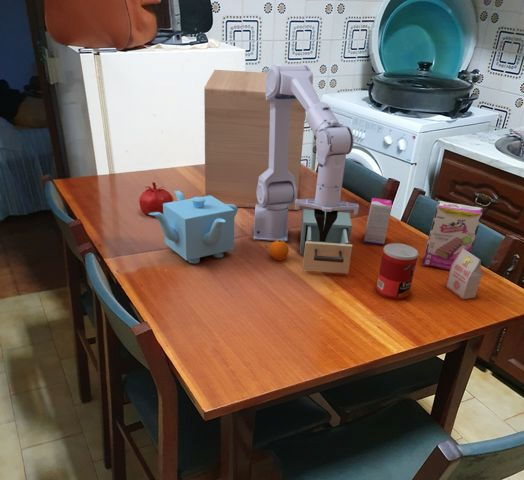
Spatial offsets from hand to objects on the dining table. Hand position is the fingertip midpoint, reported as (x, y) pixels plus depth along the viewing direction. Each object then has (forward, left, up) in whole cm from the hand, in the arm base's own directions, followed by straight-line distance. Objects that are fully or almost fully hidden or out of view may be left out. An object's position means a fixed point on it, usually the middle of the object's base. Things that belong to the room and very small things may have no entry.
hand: (322, 240), depth 131 cm
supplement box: (+17, +26, -10) cm, 32 cm away
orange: (-10, +9, -7) cm, 15 cm away
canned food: (+18, -5, -10) cm, 21 cm away
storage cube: (-21, +62, -10) cm, 66 cm away
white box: (+35, -2, -10) cm, 36 cm away
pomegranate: (-48, +35, -10) cm, 60 cm away
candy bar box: (+34, +12, -10) cm, 37 cm away
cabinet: (+2, +20, -10) cm, 22 cm away
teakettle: (-32, +8, -10) cm, 34 cm away
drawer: (+2, +6, -9) cm, 11 cm away
